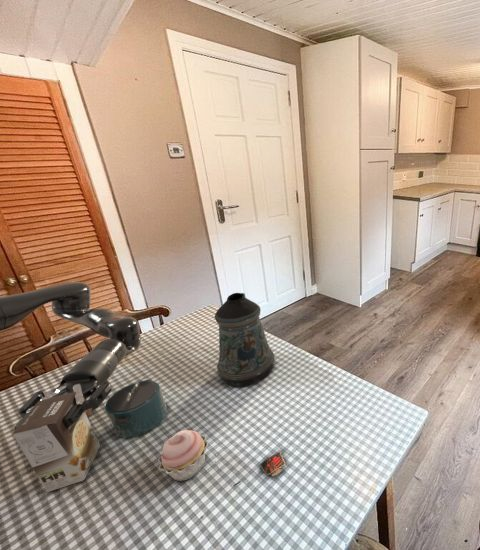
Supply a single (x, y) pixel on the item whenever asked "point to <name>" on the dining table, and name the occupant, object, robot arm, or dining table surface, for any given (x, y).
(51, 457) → the coffee box
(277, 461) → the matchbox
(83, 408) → the robot arm
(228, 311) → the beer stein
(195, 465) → the cupcake
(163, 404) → the enamel pot
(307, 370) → the dining table surface
